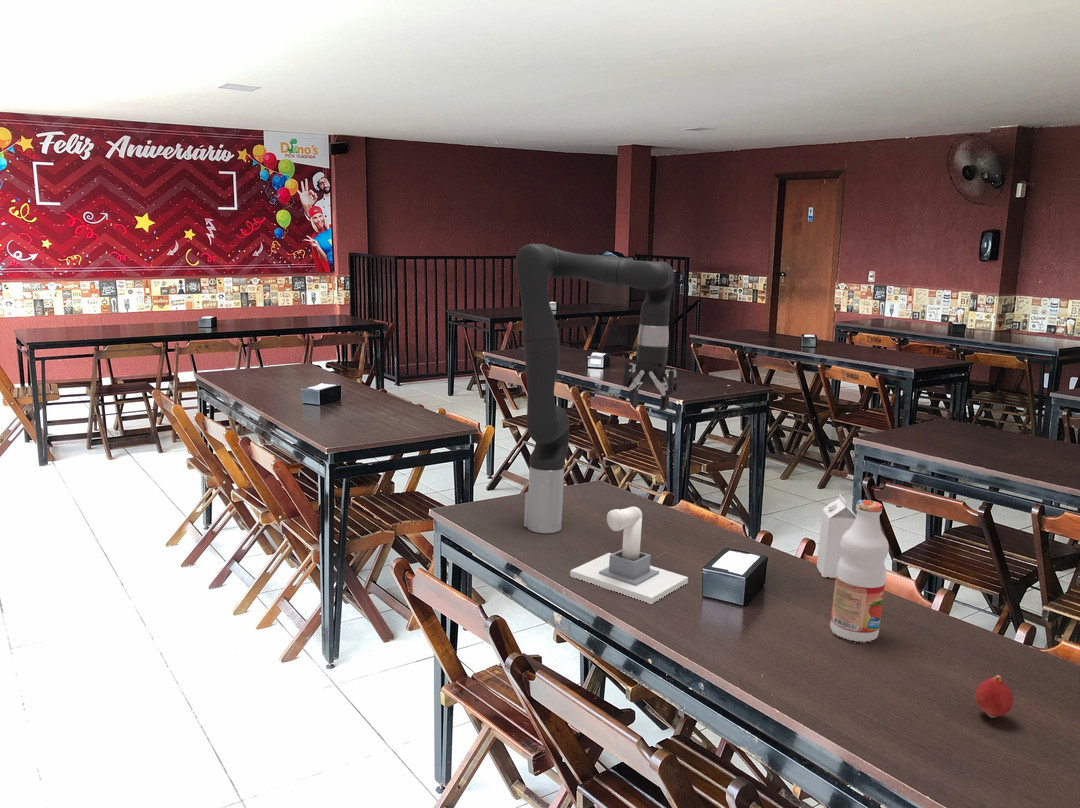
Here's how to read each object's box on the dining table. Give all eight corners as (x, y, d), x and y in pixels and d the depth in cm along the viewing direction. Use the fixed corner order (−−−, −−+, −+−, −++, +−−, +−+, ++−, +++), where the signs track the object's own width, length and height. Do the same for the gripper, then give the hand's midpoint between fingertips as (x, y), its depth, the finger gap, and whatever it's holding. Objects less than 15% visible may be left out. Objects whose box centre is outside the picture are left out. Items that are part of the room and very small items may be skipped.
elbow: (628, 565, 204) (632, 501, 201) (643, 572, 201) (647, 506, 198) (603, 573, 199) (607, 507, 196) (618, 580, 196) (622, 513, 192)
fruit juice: (828, 620, 185) (843, 493, 179) (875, 627, 182) (892, 499, 177) (830, 639, 176) (846, 507, 170) (880, 647, 173) (897, 513, 168)
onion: (965, 708, 152) (971, 666, 150) (996, 708, 152) (1003, 666, 151) (984, 727, 146) (991, 683, 144) (1017, 727, 146) (1024, 683, 145)
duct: (569, 576, 202) (571, 551, 201) (608, 558, 214) (610, 534, 213) (651, 604, 189) (653, 577, 188) (687, 583, 201) (689, 558, 200)
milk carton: (845, 569, 214) (854, 495, 211) (852, 580, 207) (862, 503, 204) (816, 566, 215) (824, 492, 211) (822, 577, 208) (831, 501, 204)
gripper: (620, 341, 216) (616, 405, 220) (670, 347, 208) (665, 414, 211) (636, 339, 222) (632, 401, 225) (685, 345, 214) (680, 410, 217)
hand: (648, 407), depth 218 cm, fingers open, 8 cm apart
